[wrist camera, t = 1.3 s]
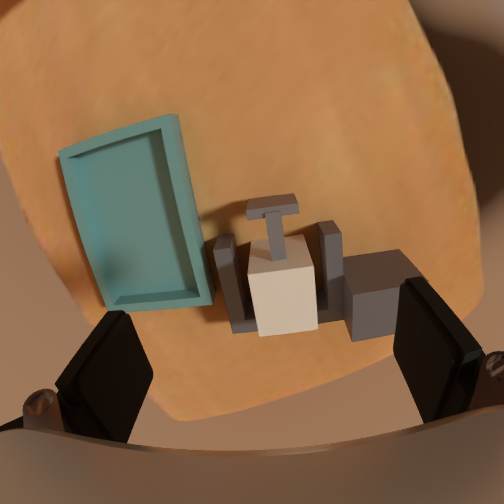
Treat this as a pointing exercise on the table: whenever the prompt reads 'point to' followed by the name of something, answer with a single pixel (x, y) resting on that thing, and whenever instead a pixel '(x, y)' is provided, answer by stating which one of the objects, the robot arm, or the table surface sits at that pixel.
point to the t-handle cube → (280, 271)
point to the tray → (139, 217)
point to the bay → (329, 286)
